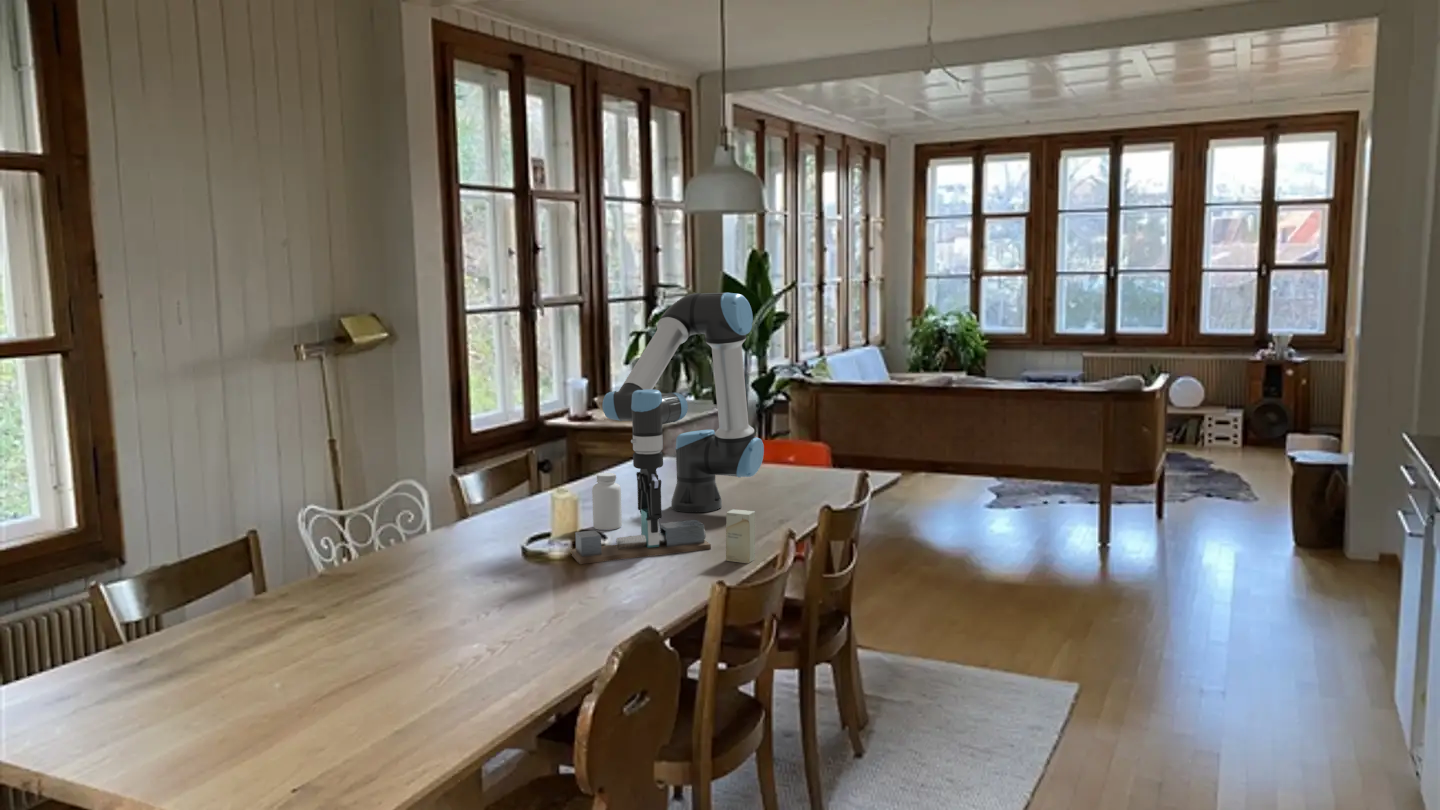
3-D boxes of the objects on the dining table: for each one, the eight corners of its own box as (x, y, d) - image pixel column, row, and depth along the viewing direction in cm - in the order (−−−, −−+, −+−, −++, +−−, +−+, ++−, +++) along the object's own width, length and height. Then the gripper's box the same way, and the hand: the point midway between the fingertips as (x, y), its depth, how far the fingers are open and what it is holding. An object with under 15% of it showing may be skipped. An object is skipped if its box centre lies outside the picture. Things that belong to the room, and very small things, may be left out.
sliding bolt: (700, 536, 271) (700, 503, 270) (707, 541, 267) (706, 506, 266) (615, 546, 263) (614, 511, 262) (620, 551, 259) (619, 515, 257)
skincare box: (725, 561, 253) (724, 512, 251) (732, 556, 257) (731, 508, 255) (749, 563, 250) (748, 514, 249) (756, 559, 254) (755, 510, 253)
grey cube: (595, 548, 262) (594, 530, 261) (601, 554, 256) (600, 535, 256) (576, 551, 260) (575, 532, 260) (581, 556, 255) (581, 537, 254)
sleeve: (696, 537, 271) (696, 519, 271) (704, 542, 266) (704, 524, 265) (659, 541, 268) (659, 523, 267) (667, 547, 262) (666, 528, 262)
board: (697, 540, 274) (697, 535, 274) (710, 548, 265) (710, 544, 264) (570, 554, 262) (570, 549, 262) (579, 564, 253) (579, 559, 252)
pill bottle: (624, 524, 293) (622, 471, 291) (618, 530, 285) (617, 477, 284) (596, 523, 294) (595, 471, 292) (590, 530, 286) (588, 477, 284)
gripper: (623, 447, 268) (626, 535, 271) (644, 458, 251) (646, 552, 254) (651, 445, 271) (653, 532, 273) (673, 455, 254) (675, 548, 257)
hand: (650, 541), depth 264 cm, fingers closed on sliding bolt, 5 cm apart
